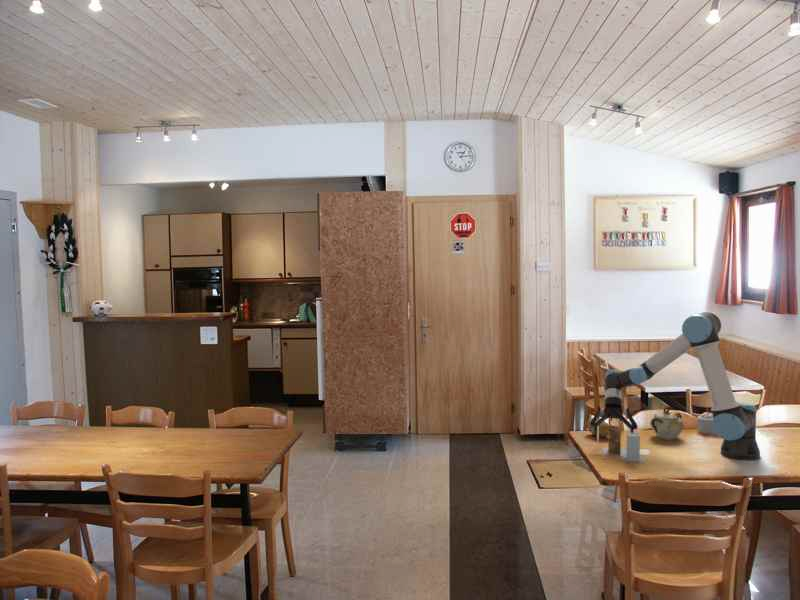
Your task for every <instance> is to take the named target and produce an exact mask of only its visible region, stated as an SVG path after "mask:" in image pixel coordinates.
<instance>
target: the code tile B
mask: <svg viewBox="0 0 800 600" xmlns="http://www.w3.org/2000/svg"><path fill="white" fill-rule="evenodd" d="M622 460H623V463H632V464H634V463H636V464H644V459H643V457H642V456H640V462H636V461H627V456H622Z"/></svg>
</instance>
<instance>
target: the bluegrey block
mask: <svg viewBox="0 0 800 600" xmlns="http://www.w3.org/2000/svg"><path fill="white" fill-rule="evenodd" d="M640 437H641V436H640V433H639V432H637V433H636V432H633V433H629V432H626V454H627V461H636V462H640V457H641V456H640V455H641V454H640V449H641V448H640V446H641V444H640V443H641V438H640Z"/></svg>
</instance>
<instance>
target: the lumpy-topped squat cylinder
mask: <svg viewBox="0 0 800 600" xmlns="http://www.w3.org/2000/svg"><path fill="white" fill-rule="evenodd" d="M713 419H714V418H713V415H712V413H708V412H703V413H702V414H700V415H698V416H697V429H696V431H697V433H700V434H705V435H717V434H716V433H715V432H714V430H713V427H712V422H713Z"/></svg>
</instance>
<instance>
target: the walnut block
mask: <svg viewBox="0 0 800 600" xmlns="http://www.w3.org/2000/svg"><path fill="white" fill-rule="evenodd" d="M621 432H622V431H621V426H616V425H615V426H613V425H611V426H609V432H608V436H607V437H608V440H607V441H608V446H607V448H608V450H609V453H614V454H621V449H622V447H621V440H622V439H621V436H622V435H621V434H622V433H621Z"/></svg>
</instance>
